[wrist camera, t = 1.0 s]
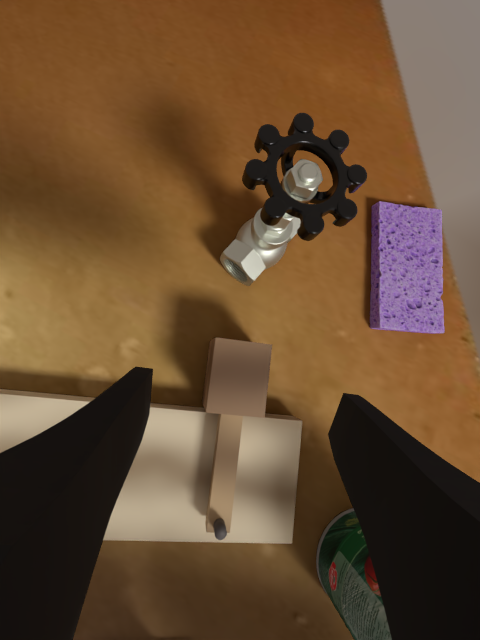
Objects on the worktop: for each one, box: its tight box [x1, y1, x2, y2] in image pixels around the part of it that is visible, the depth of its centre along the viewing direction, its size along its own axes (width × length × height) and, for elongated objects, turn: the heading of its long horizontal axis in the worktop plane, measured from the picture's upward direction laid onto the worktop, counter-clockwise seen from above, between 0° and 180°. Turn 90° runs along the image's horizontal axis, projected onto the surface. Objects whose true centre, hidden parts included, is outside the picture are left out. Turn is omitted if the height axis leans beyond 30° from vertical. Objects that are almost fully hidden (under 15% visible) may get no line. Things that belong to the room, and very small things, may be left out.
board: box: [0, 389, 302, 544], centre depth 22 cm, size 9×26×2 cm, turn 83°
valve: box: [220, 113, 367, 286], centre depth 21 cm, size 7×7×12 cm
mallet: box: [202, 337, 272, 540], centre depth 22 cm, size 13×4×5 cm, turn 173°
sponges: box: [370, 201, 445, 333], centre depth 29 cm, size 7×13×2 cm, turn 176°
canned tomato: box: [316, 508, 392, 640], centre depth 20 cm, size 8×8×11 cm
